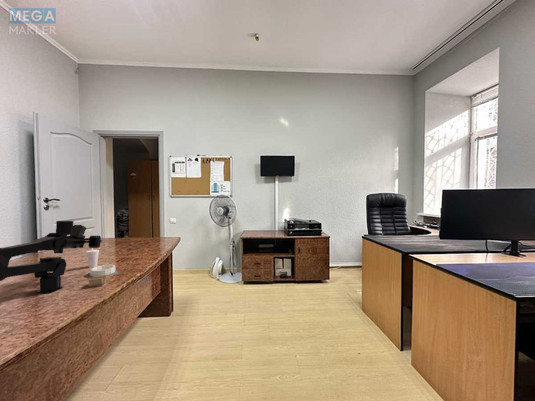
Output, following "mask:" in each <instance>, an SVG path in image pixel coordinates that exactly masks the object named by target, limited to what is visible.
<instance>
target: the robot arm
mask: <svg viewBox="0 0 535 401" xmlns="http://www.w3.org/2000/svg"><path fill="white" fill-rule="evenodd" d="M55 224H56V225H55V226H56V227H55V228H56V229H55V232H49V233H48V234H46V235H45V236H43V237H40V238H36V239H35V240H34V241H31V242H26V243H22V244H21V243H20V244H15V245H10V246H4V247H0V282H3V281H4V280H6V279H7V278H11V277H12V278H13V277H17V276H24V275H31V274H34V277H35V279H39V290H37V291H36V293H37V294H51V293H53V292H56V291H58V290H61V289H63V288H64V286H63V285H62V280H61V278H62V277H61V276H64V275H65V273H66V268H67V261H66V259H65V258H62V256H60V257H59V256H47V257H40V258H39V261H38V262H33V263H23V264H18V265H17V264H16V265H9V264H10V260H11V259H12V258H14V257H19V256H23V255H26V254H31V253H37V252H40V251H53V253H54V254H63V253H64V250H66V249H81V248H82V249H83V248H84V245H85V244H88V248H89V249H92V248H93V249H99V248H100V247H101V243H102V242H103V241H102V239H101V238H102V237H101V235H89V237H87V238H86V235H85V232H86V230H87V227H86V226H84V225H82V224H74V220H56V223H55Z"/></svg>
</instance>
